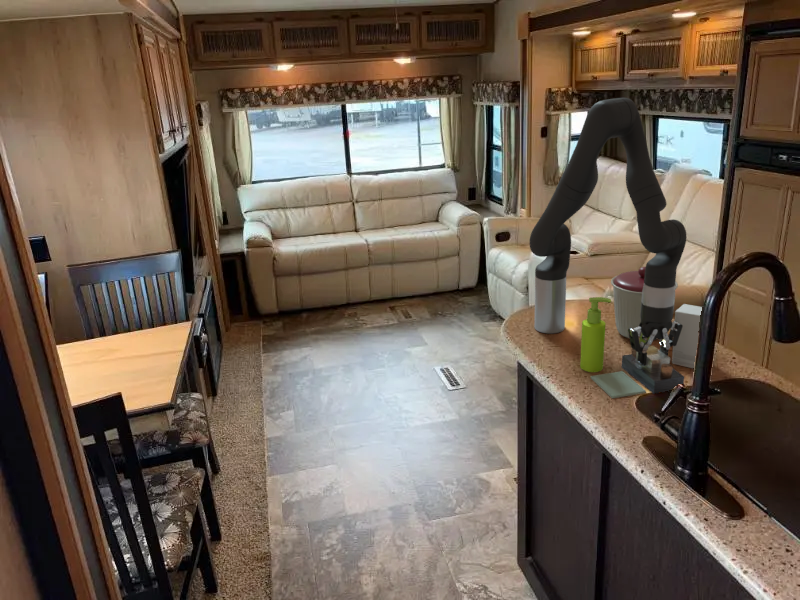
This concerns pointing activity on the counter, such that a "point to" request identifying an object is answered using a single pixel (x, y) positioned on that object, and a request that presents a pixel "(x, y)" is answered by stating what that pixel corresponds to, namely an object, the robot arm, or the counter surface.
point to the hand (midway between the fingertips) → (652, 362)
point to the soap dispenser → (593, 337)
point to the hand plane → (652, 374)
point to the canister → (628, 299)
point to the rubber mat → (617, 384)
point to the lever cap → (654, 359)
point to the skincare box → (687, 335)
